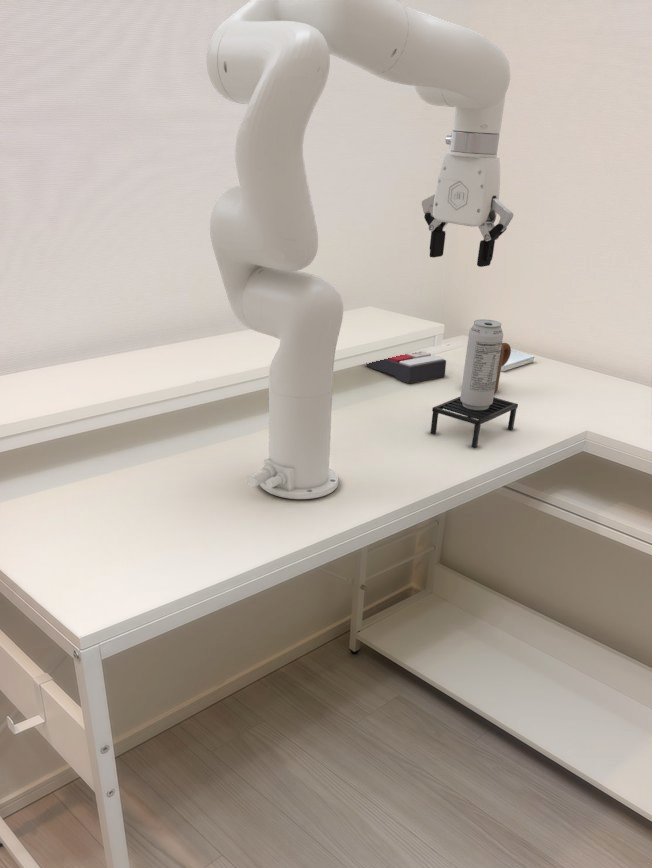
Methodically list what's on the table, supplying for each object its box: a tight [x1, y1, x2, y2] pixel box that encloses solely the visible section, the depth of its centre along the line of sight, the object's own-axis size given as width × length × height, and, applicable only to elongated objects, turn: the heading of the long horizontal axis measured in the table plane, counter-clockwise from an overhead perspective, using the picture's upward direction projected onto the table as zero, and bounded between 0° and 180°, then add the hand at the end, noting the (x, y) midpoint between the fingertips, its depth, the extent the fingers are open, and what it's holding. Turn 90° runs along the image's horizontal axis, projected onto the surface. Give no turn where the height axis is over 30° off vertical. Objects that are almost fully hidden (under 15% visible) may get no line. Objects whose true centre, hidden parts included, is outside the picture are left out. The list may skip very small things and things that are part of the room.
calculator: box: [366, 350, 447, 384], centre depth 181 cm, size 11×4×15 cm
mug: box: [494, 342, 512, 394], centre depth 172 cm, size 12×8×9 cm, turn 130°
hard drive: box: [501, 349, 535, 372], centre depth 191 cm, size 2×8×12 cm
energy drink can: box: [459, 318, 504, 410], centre depth 145 cm, size 6×6×15 cm
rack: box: [430, 395, 519, 449], centre depth 150 cm, size 14×10×5 cm
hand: (459, 261), depth 136 cm, fingers open, 9 cm apart
